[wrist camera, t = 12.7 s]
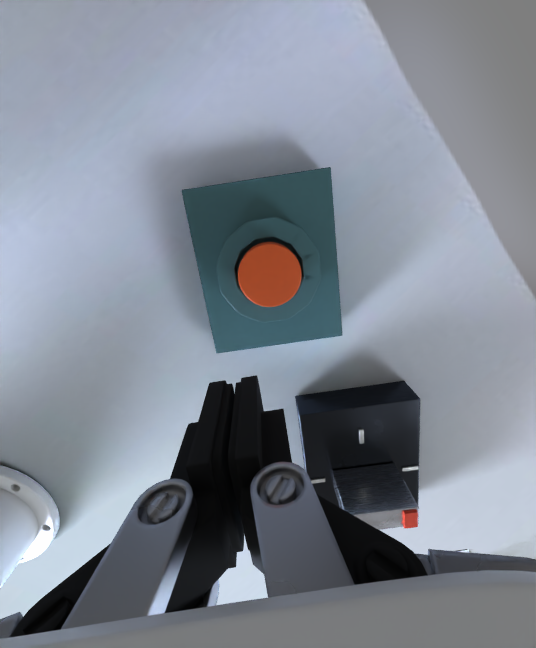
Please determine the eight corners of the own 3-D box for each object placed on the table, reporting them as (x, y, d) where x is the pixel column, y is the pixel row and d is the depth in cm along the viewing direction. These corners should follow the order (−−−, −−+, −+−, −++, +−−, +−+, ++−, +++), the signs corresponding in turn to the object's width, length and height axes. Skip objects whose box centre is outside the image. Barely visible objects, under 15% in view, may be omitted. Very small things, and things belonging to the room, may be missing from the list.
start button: (234, 246, 20) (232, 248, 19) (294, 237, 20) (298, 238, 19) (244, 304, 22) (243, 311, 20) (301, 296, 21) (304, 302, 20)
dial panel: (295, 395, 28) (299, 416, 25) (404, 380, 28) (421, 399, 25) (310, 509, 33) (315, 538, 30) (404, 497, 32) (419, 525, 29)
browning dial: (333, 485, 28) (347, 537, 23) (332, 470, 27) (346, 519, 23) (394, 478, 28) (420, 528, 23) (394, 462, 27) (421, 510, 23)
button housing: (188, 192, 22) (173, 187, 19) (324, 171, 22) (337, 161, 18) (219, 343, 26) (213, 363, 23) (335, 326, 26) (348, 344, 22)
